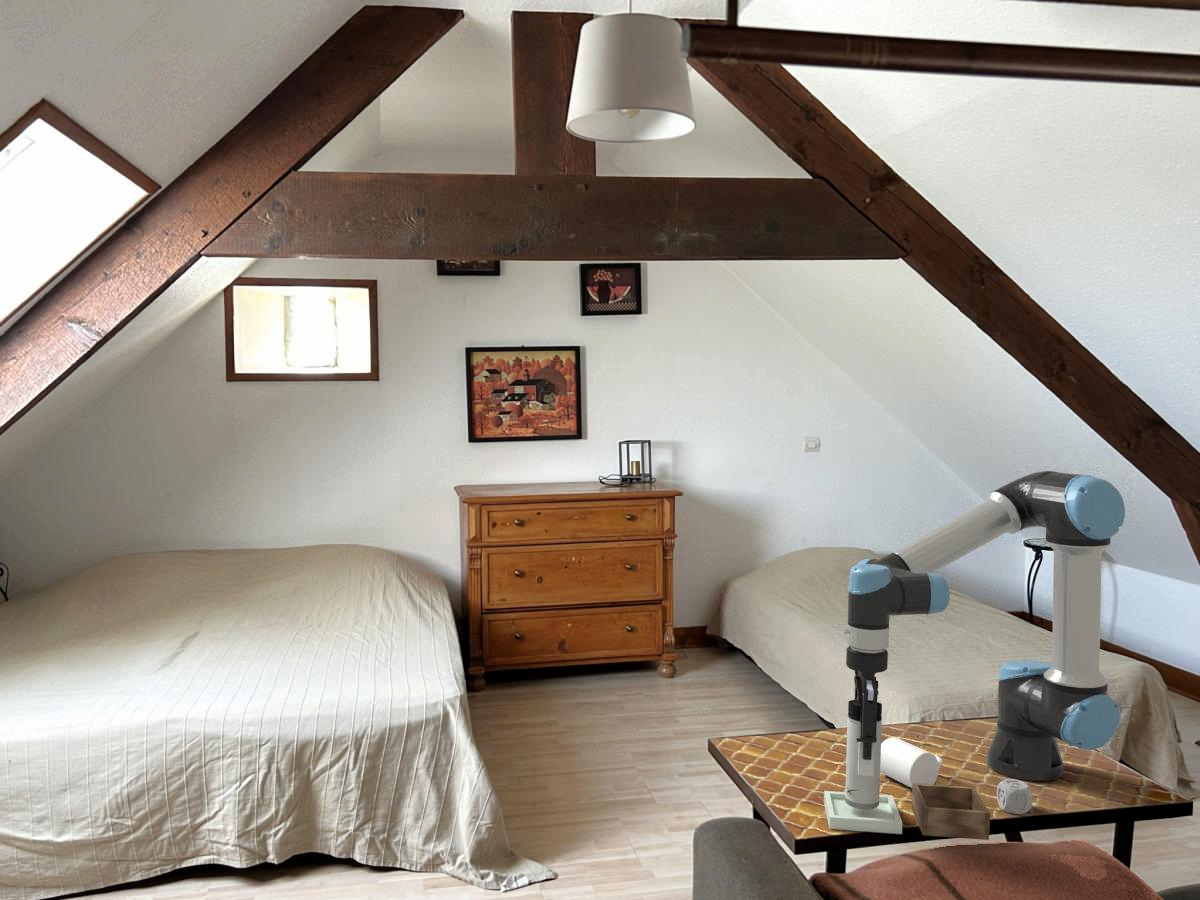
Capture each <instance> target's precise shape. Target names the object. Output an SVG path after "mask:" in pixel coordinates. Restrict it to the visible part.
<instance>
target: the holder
mask: <svg viewBox="0 0 1200 900" xmlns="http://www.w3.org/2000/svg"><path fill="white" fill-rule="evenodd" d="M911 810H912V814H914V815H913V816H914V817H915V819H916V822H917V824H918V825H917V826H918V827H919V830H920V832H921V835H922V836H929V837H945V838H954V839H955V838H957V839H970V840H971V839H972V840H984V841H985V840H986V841H989V840H990V825H991V823H990V821H991V812H990V811H989V809H988V807H987V806H986V804H985V802H984V800H983V799H982V797H981V795H980V794H979V792H978V791H977V788H976V787H975V786H962V785H961V786H960V785H946V784H945V785H944V784H933V785H932V784H917V783H913V784H912V788H911Z"/></svg>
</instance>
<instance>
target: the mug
mask: <svg viewBox="0 0 1200 900" xmlns="http://www.w3.org/2000/svg"><path fill="white" fill-rule="evenodd" d="M943 766H944V761H943V759H942V758H941V757H939V755H937V754H934V753H931V752H929V751H927V750H925V749H923V748H922V747H918V746H916V745H914V744H911V743H909V742H907V741H904V740H903V739H900V738H898V737H894V736H893V737H891V736H890V737H888V738H886V739H885V740H884V741H883V743H882V744H881V762H880V774H881V773H882V774H883V775H885V776H887V777H889V778H891V779H893V780H895V781H897V782H899V783H900V784H903V785H905V786H907V787H909V788H911V789H912V784H913V783H917V784H932V785H935V783H936V781H937V779H938V777H939V773H940V772H939V771H940V768H941V767H943Z"/></svg>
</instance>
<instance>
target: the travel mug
mask: <svg viewBox="0 0 1200 900" xmlns="http://www.w3.org/2000/svg"><path fill="white" fill-rule="evenodd" d="M847 705H848V707H847V708H848V709H847V724H846V726H847V727H846V729H847V730H846V753H845V754H846V756H845V757H846V758H845V759H846V761H845V791H844V792H846V793H845V802H846V803H847V804H848V805H849V806H851V807H854V808H857V809H862V810H870V809H874V808H877V807H878V806H879V795H880V792H881V791H880V788H881V786H880V785H881V772H880V762H881V738H882V731H883V730H882V729H883V728H882V726H883V723H882V721H883V718H882V716H883V715H882V713H883V704H882V702H879V701H877V730H876V738H877V741H876V743H874V771H873V776H862V775H858V755H859V742H857V741H856V738H860V716H861V705H860V704H859V703H858V701H857V700H854V699H851V700H848V702H847ZM862 709H863V705H862Z"/></svg>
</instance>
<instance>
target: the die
mask: <svg viewBox="0 0 1200 900" xmlns="http://www.w3.org/2000/svg"><path fill="white" fill-rule="evenodd" d="M996 799H997V803H998V806H999V808H1000V809H1001V810H1002V811H1004V812H1006V813H1009V814H1013V815H1024V814H1027V813H1028V812H1030V810H1031V809H1032V805H1033V794H1032V791H1031V788H1030V786H1029V785H1028V783H1026V782H1024V781H1022V780H1020V779H1015V778H1014V779H1013V778H1010V779H1008V778H1007V779H1006V778H1005V779H1003V780H1001V781H1000V782H999V783H998V784H997V786H996Z"/></svg>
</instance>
